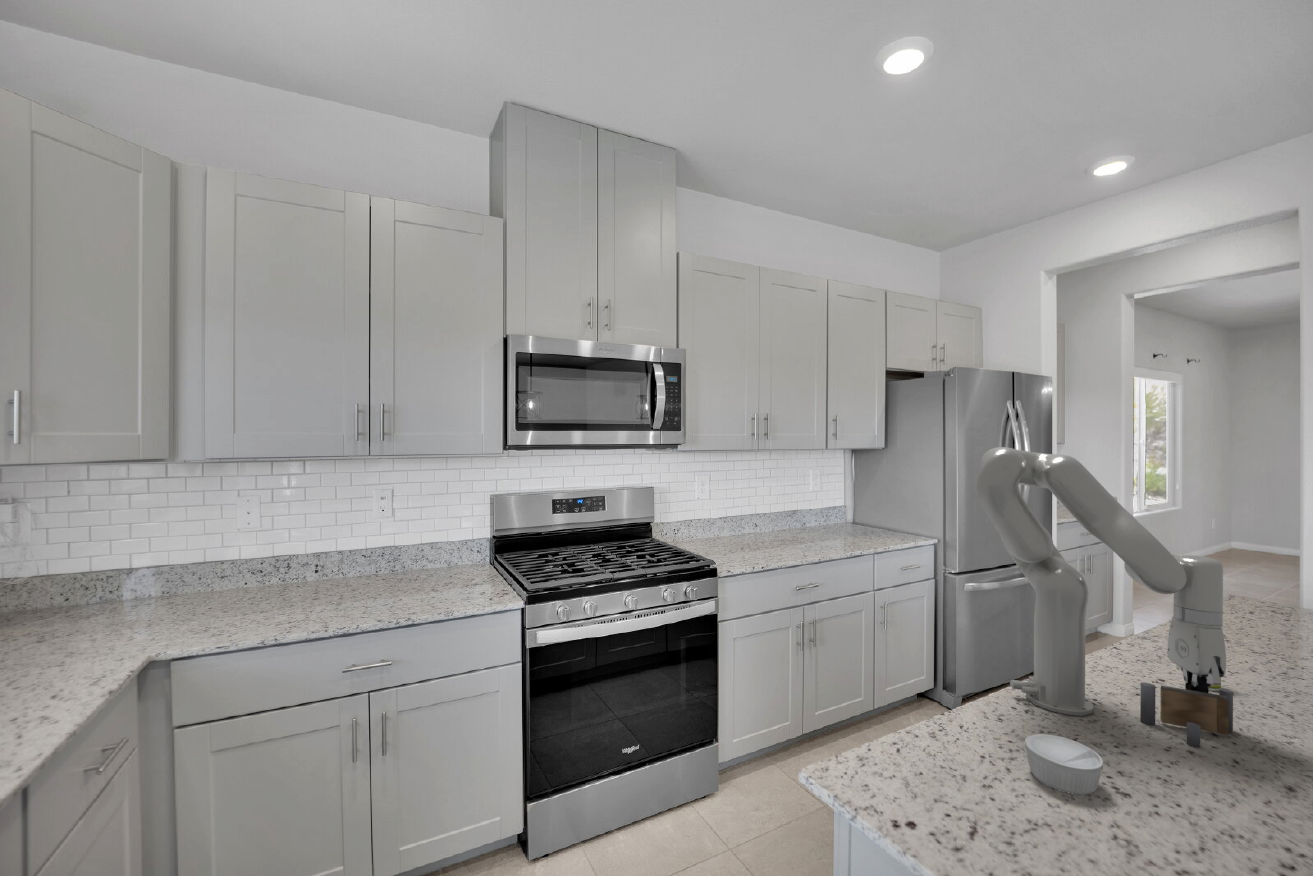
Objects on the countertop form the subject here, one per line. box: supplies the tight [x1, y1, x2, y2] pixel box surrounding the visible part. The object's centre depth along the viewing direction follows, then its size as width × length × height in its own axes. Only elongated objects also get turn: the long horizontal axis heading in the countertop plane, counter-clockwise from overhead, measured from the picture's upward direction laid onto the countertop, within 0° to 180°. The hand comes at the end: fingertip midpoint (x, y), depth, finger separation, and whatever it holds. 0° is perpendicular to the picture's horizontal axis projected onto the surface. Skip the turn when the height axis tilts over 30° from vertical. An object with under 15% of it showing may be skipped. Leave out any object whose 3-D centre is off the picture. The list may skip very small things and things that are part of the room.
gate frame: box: [1139, 681, 1202, 749], centre depth 117 cm, size 2×11×8 cm, turn 7°
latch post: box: [1218, 688, 1234, 733], centre depth 118 cm, size 2×2×8 cm
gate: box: [1159, 684, 1230, 737], centre depth 118 cm, size 10×2×8 cm, turn 61°
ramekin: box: [1024, 733, 1104, 795], centre depth 100 cm, size 11×11×5 cm
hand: (1196, 703), depth 120 cm, fingers closed
